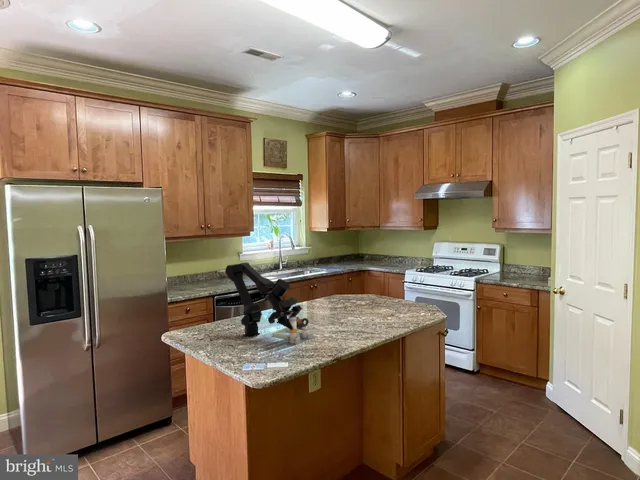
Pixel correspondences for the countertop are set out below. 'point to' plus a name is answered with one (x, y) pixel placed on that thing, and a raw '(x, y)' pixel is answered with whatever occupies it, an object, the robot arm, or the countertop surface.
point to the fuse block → (299, 339)
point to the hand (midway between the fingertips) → (295, 328)
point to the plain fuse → (305, 332)
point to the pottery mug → (302, 323)
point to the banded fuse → (293, 332)
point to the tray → (278, 333)
